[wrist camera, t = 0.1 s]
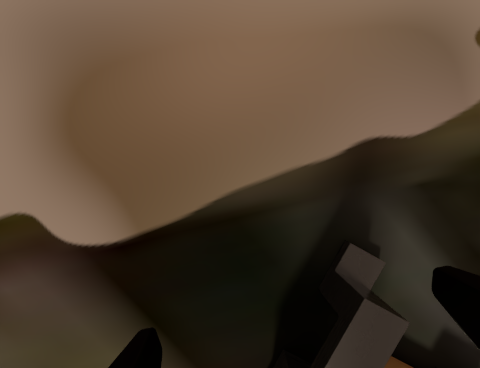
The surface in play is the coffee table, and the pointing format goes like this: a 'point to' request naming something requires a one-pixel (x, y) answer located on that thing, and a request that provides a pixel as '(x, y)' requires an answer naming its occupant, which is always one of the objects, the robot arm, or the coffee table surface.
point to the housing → (354, 316)
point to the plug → (396, 363)
